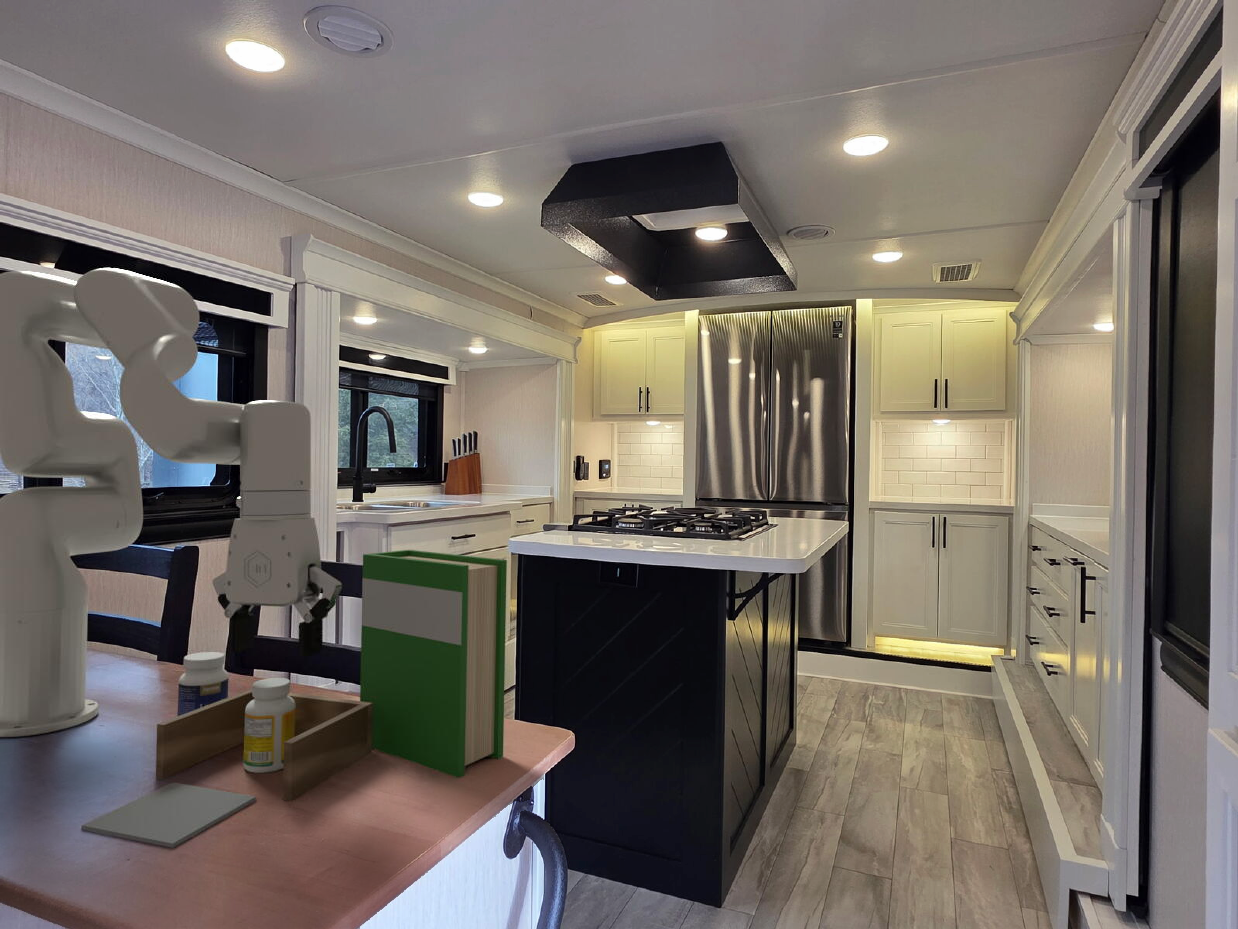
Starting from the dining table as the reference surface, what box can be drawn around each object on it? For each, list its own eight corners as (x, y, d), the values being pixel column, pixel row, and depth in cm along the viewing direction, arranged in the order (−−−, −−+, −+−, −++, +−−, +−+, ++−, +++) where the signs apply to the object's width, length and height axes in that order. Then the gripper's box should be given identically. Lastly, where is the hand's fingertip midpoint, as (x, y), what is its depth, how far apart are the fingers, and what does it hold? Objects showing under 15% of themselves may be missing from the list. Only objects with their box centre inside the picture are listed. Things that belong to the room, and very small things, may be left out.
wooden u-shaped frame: (155, 778, 80) (157, 724, 80) (251, 734, 94) (253, 688, 94) (290, 801, 75) (292, 743, 75) (371, 751, 89) (372, 702, 89)
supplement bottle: (251, 778, 81) (253, 692, 81) (237, 763, 84) (239, 681, 85) (301, 765, 84) (302, 683, 84) (285, 752, 88) (287, 673, 88)
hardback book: (503, 757, 88) (506, 560, 88) (458, 777, 82) (462, 566, 82) (405, 727, 97) (409, 549, 98) (359, 743, 91) (363, 554, 92)
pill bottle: (204, 741, 91) (206, 662, 91) (166, 737, 92) (167, 659, 92) (237, 725, 97) (238, 651, 97) (200, 722, 98) (202, 649, 98)
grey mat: (81, 829, 69) (81, 825, 69) (172, 786, 78) (172, 782, 78) (172, 848, 66) (172, 843, 66) (255, 800, 75) (256, 796, 75)
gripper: (190, 507, 83) (189, 655, 83) (316, 508, 79) (316, 665, 78) (240, 505, 91) (240, 641, 90) (359, 505, 86) (359, 649, 86)
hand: (275, 652), depth 84 cm, fingers open, 9 cm apart
